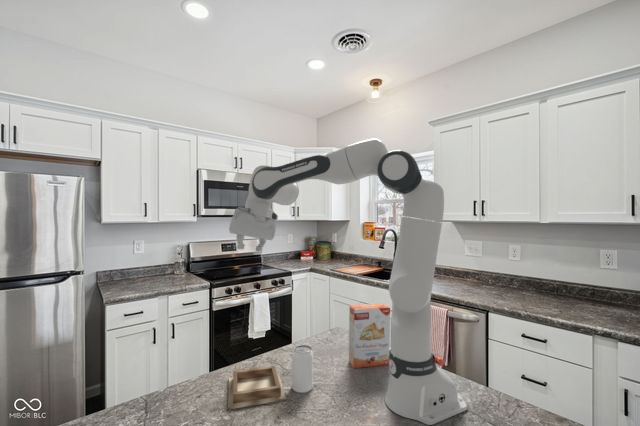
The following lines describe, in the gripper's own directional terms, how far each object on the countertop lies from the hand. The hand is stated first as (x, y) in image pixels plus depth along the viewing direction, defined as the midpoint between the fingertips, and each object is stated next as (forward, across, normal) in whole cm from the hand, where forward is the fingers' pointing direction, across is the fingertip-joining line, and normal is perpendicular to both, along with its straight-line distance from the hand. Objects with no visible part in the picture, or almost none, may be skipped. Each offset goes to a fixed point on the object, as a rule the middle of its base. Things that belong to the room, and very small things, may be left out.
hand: (249, 250), depth 103 cm
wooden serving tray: (+41, 0, -13) cm, 43 cm away
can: (+39, +7, -25) cm, 47 cm away
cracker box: (+34, +32, -38) cm, 60 cm away
